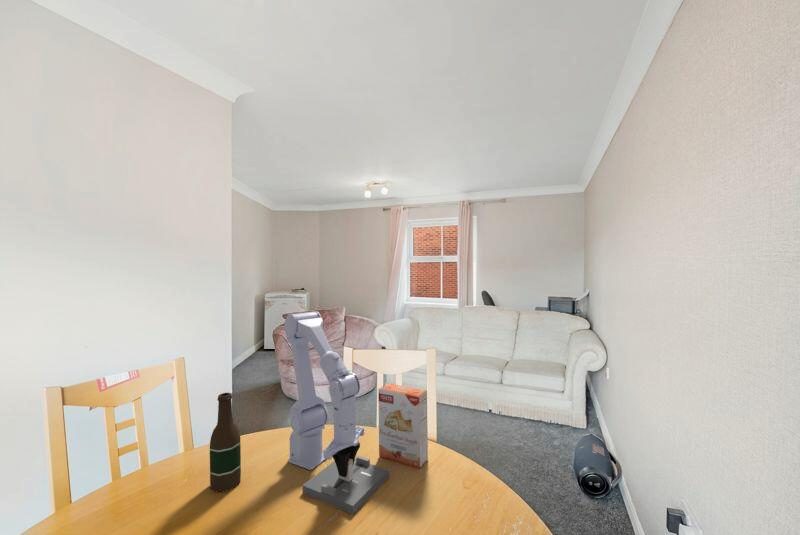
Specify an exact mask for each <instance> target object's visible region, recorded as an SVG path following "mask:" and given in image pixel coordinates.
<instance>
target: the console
mask: <svg viewBox="0 0 800 535" xmlns="http://www.w3.org/2000/svg"><path fill="white" fill-rule="evenodd" d="M389 472H390V471H389V469H387V468H384V467H381V466H377V465H374V464H371V459H370V458H367V457H364V456H360V455H356V457H355V460H354V464H353V479H352V480H351V481H350V482H348V481H345V480H343V479H340V478H338V469H337V466H336V463H335V461H333V462H331V463H330V464H329V465H327V466H326V467H325V468H324V469H322V470H321V471H320V472H318V473H317V474H315V475H314V476H313V477H311V478H310V479H309V480H307V481H306V482H305V483H303V484H302V494H303V495H306V496H309V497H311V498H313V499H315V500H318V501H319V502H323V503H325V504H327V505H330V506H331V507H334V508H336V509H339V510H342V511H343V512H346V513H348V514H350V515H354V514H355V513H357V511H358V510H359V509H360V508H361V507H362V506H363V505H364V504H365V502H367V501H368V500H369V499H370V497H372V496H373V495H374V494H375V492H376V491H377V490H378V489H379V488H381V486H382V485H383V484H384V483H385V482H386V481H387V479H389V478H390V477H389V475H390V473H389Z"/></svg>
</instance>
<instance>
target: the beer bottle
mask: <svg viewBox="0 0 800 535" xmlns="http://www.w3.org/2000/svg"><path fill="white" fill-rule="evenodd" d="M232 399H233V393H231V392H222V393H220V394H219V395H218V396H217V401H218V406H217V407H218V408H217V410H218V411H217V422H216V425H215V427H214V428H213V430H212V434H211V435H210V440H209V484H210V485H209V486H210V487H209V488H210V491H212V490H214V491H213V492H215V491H217V492H216V493H219V492H220V493H224V492H227V491H226V490H228V491H231V490H230V489H232V488H233V489H234V488H235V486H236V485H237V486H238V485H239V483H241V474H242V465H241V464H242V462H241V461H242V460H241V459H242V458H241V457H242V456H241V452H242V450H241V448H242V446H241V445H242V444H241V430H240V428H239V426H238V425H237V423H236V422H235V421H234V417H233V404H232ZM237 486H236V487H237ZM233 489H232V490H233ZM223 491H224V492H223Z"/></svg>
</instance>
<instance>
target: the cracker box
mask: <svg viewBox="0 0 800 535" xmlns="http://www.w3.org/2000/svg"><path fill="white" fill-rule="evenodd" d="M377 390H378V392H377V393H378V456H379V457H382V458H385V459H388V460H392V461H395V462H398V463H401V464H404V465H408V466H410V467H414V468H416V469H421V468H422V467H423V465H424V464H425V463H426V461H428V459H429V450H428V447H429V442H428V440H429V439H428V438H429V437H428V436H429V435H428V434H429V432H428V390H425V389H419V388H415V387H409V386H404V385H403V386H402V385H398V384H393V383H386V384H384V385H383V386H381V387H379V388H378V389H377Z"/></svg>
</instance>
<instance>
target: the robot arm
mask: <svg viewBox="0 0 800 535" xmlns="http://www.w3.org/2000/svg"><path fill="white" fill-rule="evenodd" d="M283 326H284V333H285V339H286V342H287V343H289V344H290V349H291V350H290V351H291V356H292V362H293V368H294V374H295V376H294V378H295V381H296V382H295V383H296V390H297V395H298V399H297V400H296V402H295V403H294V404H293V405H292V406H291V408H290V427H291V429H292V431H291V433H290V436H289V458H288V459H287V462H288V463H290V464H293V465H295V466H298V467H301V468H303V469H307V470H309V471H312V470H313V469H315V468H316V467H317V466H319V465H321V464H322V463H323V462H324V461H325V460H327V461H330V460H332V459H333V460H334V461H335V463H336V466H337V469H338V473H339V476H342V477H346V476H347V471H348V461H349V458H350V459H353V464H354V460H355V459H356V457H357V453H358V451H359V449H360V447H361V443H360V440H359V438H360V437H363V436H364V435H365V427H362V426H356V424H357V423H356V422H357V421H356V419H357V418H356V417H357V416H356V415H357V413H356V412H357V410H356V406H357V404H356V396H357V395H358V394H359V393H360V390H361V382H360V380H359V377H358V376H357V374H356V373H355V372H352V371H351V370H350V369H348V368H347V367H346V364H345V363H344V361H343V359H342V357H341V356H340V355H339V353H338V352H336V351H333V350H332V348H331V346H330V343H329V341H328V338H327V337H326V335H325V332H324V329H323V328H324V320H323V316H322V315H321V313H320V312H319V311H317V310H313V311H309V312H300V313H289V314H287V316H286V317H285V320H284V322H283ZM309 342H310V343H311V345H312V347H313V348H314V350H315V352H316V353H317V354H318V356H319V358H320V360H319V366H320V368H321V369H322V372H323V373H324V376H325V377H326V380H327V381H328V383H329V386H328V393H329V396H330V399H331V406H332V407H333V439H332V440H331V441H330V442H329V444H328V445H327V447H326V448H324V447H323V430H325V426H326V425H327V423H328V421H329V411H328V408H327V406H326V404H325V403H326V402H325V400H324V398H322V397H320V396H318V395H317V392H316V386H315V381H314V374H313V368H312V361H311V355H310V348H309ZM323 448H324V450H323ZM334 461H333V462H334Z"/></svg>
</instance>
